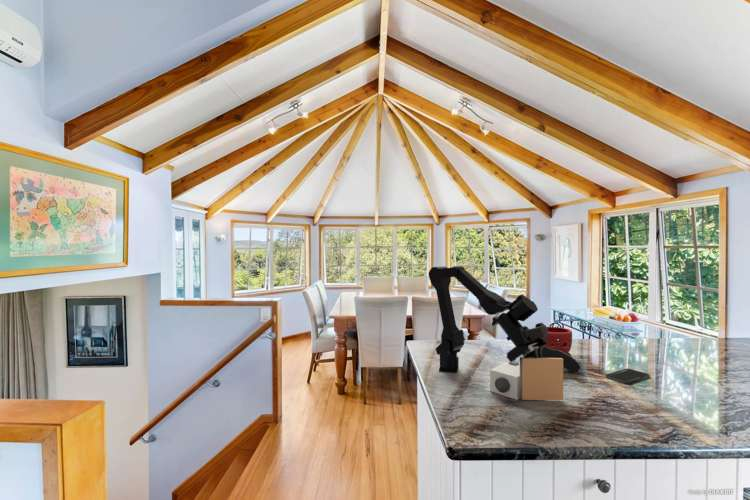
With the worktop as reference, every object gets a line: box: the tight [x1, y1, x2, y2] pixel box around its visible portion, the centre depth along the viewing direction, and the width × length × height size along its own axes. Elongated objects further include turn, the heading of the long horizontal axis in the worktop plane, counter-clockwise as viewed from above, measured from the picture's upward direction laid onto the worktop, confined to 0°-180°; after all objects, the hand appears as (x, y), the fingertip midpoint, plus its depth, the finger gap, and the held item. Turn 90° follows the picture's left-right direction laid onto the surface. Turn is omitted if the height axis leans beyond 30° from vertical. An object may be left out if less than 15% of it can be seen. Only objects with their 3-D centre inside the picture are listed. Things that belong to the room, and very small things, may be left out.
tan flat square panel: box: [519, 356, 564, 401], centre depth 109 cm, size 2×12×12 cm, turn 87°
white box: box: [489, 360, 520, 400], centre depth 117 cm, size 9×15×8 cm, turn 133°
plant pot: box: [544, 326, 573, 356], centre depth 150 cm, size 13×13×12 cm
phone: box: [605, 368, 651, 385], centre depth 127 cm, size 8×1×15 cm
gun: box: [542, 346, 584, 374], centre depth 134 cm, size 3×16×10 cm, turn 79°
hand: (547, 372), depth 109 cm, fingers closed
